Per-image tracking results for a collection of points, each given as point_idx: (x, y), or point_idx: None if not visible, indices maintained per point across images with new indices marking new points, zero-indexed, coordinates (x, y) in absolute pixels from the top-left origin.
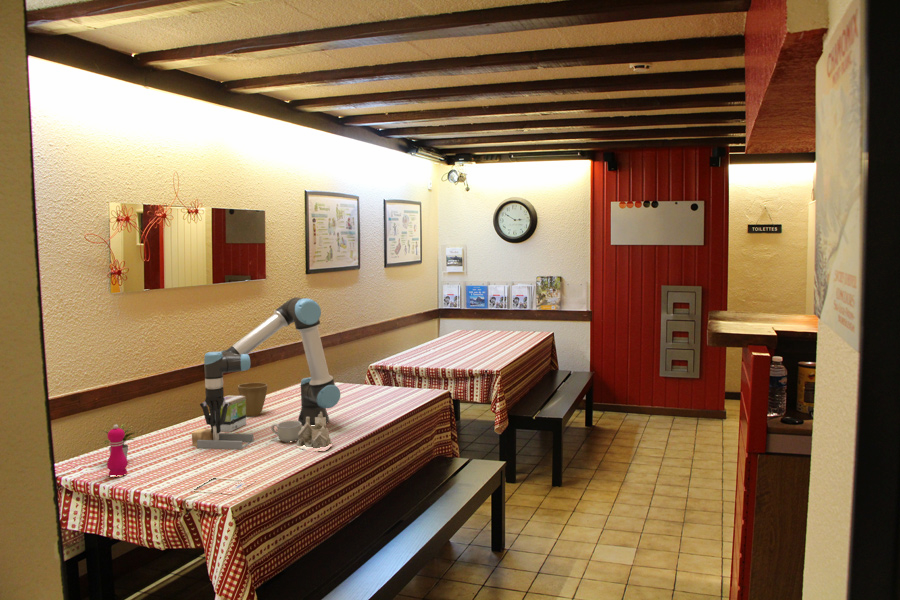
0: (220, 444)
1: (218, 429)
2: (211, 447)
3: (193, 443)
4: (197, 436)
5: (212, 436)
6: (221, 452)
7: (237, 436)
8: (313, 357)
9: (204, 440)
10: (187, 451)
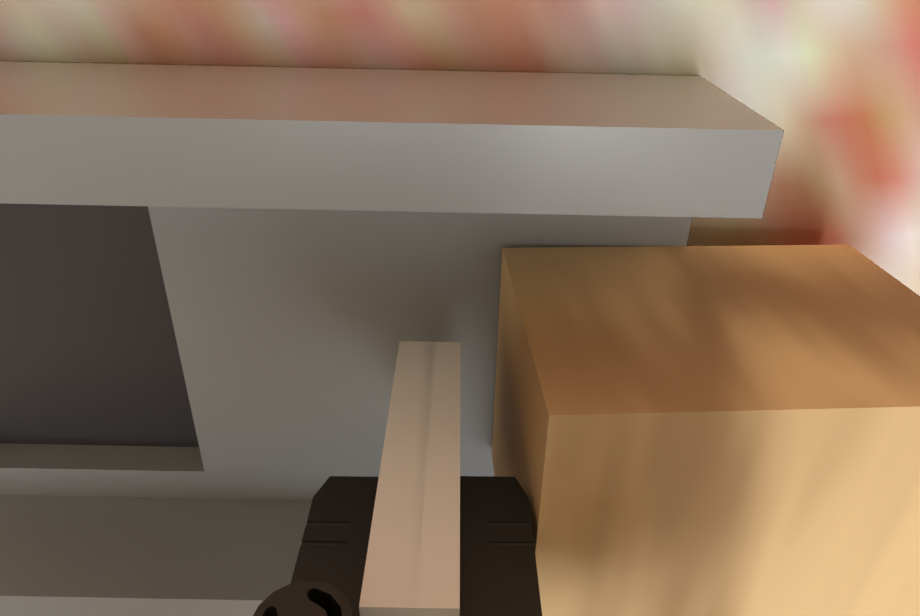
0: (143, 95)
1: (315, 551)
2: (389, 87)
3: (860, 268)
4: (839, 345)
5: (512, 445)
6: (156, 12)
7: (134, 564)
8: None
9: (581, 165)
10: (894, 28)
